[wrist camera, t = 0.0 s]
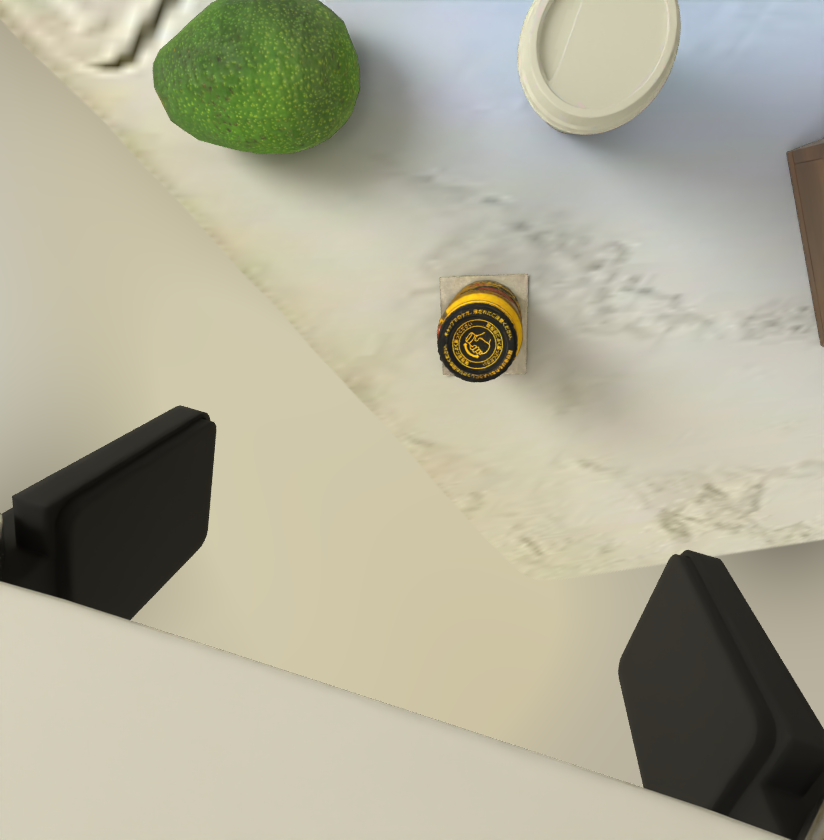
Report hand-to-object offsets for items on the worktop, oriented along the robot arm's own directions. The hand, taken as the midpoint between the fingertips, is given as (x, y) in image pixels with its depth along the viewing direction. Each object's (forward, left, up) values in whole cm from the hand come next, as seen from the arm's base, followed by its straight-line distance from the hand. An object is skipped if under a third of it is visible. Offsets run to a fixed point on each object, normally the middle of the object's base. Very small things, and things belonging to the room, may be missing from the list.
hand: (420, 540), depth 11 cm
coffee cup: (-12, +10, -38) cm, 41 cm away
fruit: (-21, -11, -38) cm, 44 cm away
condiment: (+2, -2, -38) cm, 38 cm away
